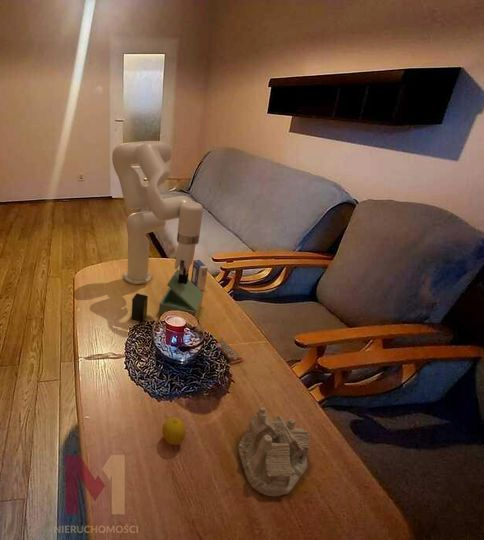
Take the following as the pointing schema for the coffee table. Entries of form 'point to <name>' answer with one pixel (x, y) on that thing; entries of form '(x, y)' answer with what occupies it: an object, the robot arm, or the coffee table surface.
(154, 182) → the robot arm
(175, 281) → the lid
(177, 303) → the green shallow box
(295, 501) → the coffee table surface
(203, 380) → the coffee table surface
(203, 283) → the walkman
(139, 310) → the iron block
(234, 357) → the chocolate bar
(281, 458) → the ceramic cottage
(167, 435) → the lemon
